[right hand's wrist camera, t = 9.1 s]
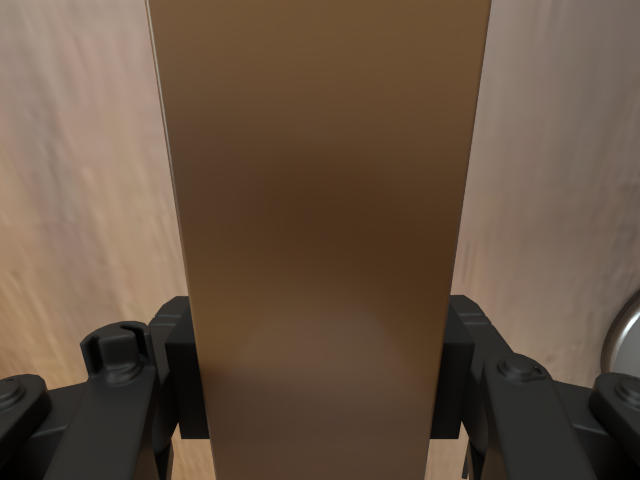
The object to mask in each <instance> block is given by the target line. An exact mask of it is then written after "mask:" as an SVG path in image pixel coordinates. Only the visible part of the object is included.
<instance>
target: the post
mask: <svg viewBox="0 0 640 480" xmlns="http://www.w3.org/2000/svg"><path fill="white" fill-rule="evenodd" d="M491 2H492V0H145V5H146V12H147V18H148V25H149V32H150V39H151V45H152V52H153V59H154V65H155V72H156V79H157V86H158V92H159V99H160V106H161V113H162V119H163V126H164V133H165V140H166V146H167V153H168V160H169V167H170V173H171V180H172V187H173V193H174V200H175V207H176V214H177V220H178V227H179V234H180V241H181V247H182V254H183V261H184V268H185V274H186V281H187V288H188V295H189V301H190V308H191V315H192V321H193V328H194V335H195V342H196V348H197V355H198V362H199V369H200V375H201V382H202V389H203V396H204V402H205V409H206V416H207V423H208V429H209V436H210V443H211V449H212V456H213V463H214V470H215V476H216V480H424V477H425V470H426V463H427V456H428V448H429V441H430V434H431V427H432V420H433V413H434V406H435V399H436V392H437V385H438V378H439V370H440V363H441V356H442V349H443V342H444V335H445V328H446V321H447V314H448V307H449V300H450V292H451V285H452V278H453V271H454V264H455V257H456V250H457V243H458V236H459V229H460V222H461V214H462V207H463V200H464V193H465V186H466V179H467V172H468V165H469V158H470V151H471V144H472V136H473V129H474V122H475V115H476V108H477V101H478V94H479V87H480V80H481V73H482V66H483V58H484V51H485V44H486V37H487V30H488V23H489V16H490V9H491Z"/></svg>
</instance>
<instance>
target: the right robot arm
mask: <svg viewBox="0 0 640 480" xmlns="http://www.w3.org/2000/svg"><path fill="white" fill-rule="evenodd" d="M80 347H81V350H82V354H83V358H84V361H85V365H86V368H87V372H88V376H89V378H88V380H87V382H84V383H80V384H76V385H71V386H67V387H62V388H57V389H53V390H48V389H47V386H46V383H45V380H44V379H42V378H41V377H40V376H39V375H33V374H23V375H16V376H11V377H7V378H4V379H1V380H0V480H171V475H172V466H173V457H174V452H173V445H172V440H171V438H172V435H173V433H174V431H175V428H176V426H177V424H178V423H179V428H180V434H181V439H210V436H209V429H208V423H207V416H206V409H205V402H204V396H203V389H202V382H201V375H200V369H199V362H198V355H197V348H196V342H195V335H194V328H193V321H192V315H191V308H190V301H189V296H176V297H174V298H173V299H171V300H170V301H168V302H167V303H165V304H164V305H162V307H161V308H160V309H159V311H158V312H157V313H156V315H155V318H153V319H152V320H151V322H150V323H149V324H148V326H147V325H146V324H145V323H142V322H138V321H122V322H117V323H113V324H109V325H106V326H104V327H101V328H99V329H97V330H95V331H94V332H92V333H91V334H89V335H87V336H86V337H85V338H84V340H83V341H82V342H81V343H80ZM461 421H462V422H463V425H464V427H465V429H466V432H467V434H468V436H469V440H468V445H467V451H466V456H465V461H464V466H463V472H462V478H463V479H467V476H468V474H469V480H640V290H639V291H638V292H637V293H636V294H635V295H634V296H633V297H632V298H631V299H630V300H629V301H628V302H627V304H626V305H625V306H624V307H623V308H622V310H621V311H620V312H619V314H618V315H617V317H616V318H615V320H614V322H613V323H612V325H611V327H610V329H609V331H608V333H607V336H606V338H605V341H604V344H603V348H602V354H601V374H600V375H599V376H598V377H597V378H596V379H595V382H594V385H593V388H592V389H590V388H586V387H581V386H576V385H572V384H567V383H562V382H559V381H555V380H553V379H552V377H551V375H550V374H549V373H548V371H547V370H546V369H545V368H544V367H543V366H542V365H540V364H539V363H538V362H536V361H535V360H533V359H531V358H529V357H526V356H524V355H521V354H517V353H514V352H513V351H512V350H511V348H510V347H509V346H508V344H507V343H506V342H505V340H504V339H503V338H502V336H501V335H500V334H499V332H498V331H497V330H496V328H495V327H494V326H493V325H492V323H491V322H490V320H489V319H488V318H487V316H485V314H484V312H483V311H482V310H481V308H480V307H479V306H478V304H477V303H475V302H474V301H472V300H471V299H469V298H467V297H466V296H464V295H450V300H449V307H448V314H447V321H446V328H445V335H444V342H443V349H442V356H441V363H440V370H439V378H438V385H437V392H436V399H435V406H434V413H433V420H432V427H431V434H430V439H458V438H459V432H460V427H461Z"/></svg>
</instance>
